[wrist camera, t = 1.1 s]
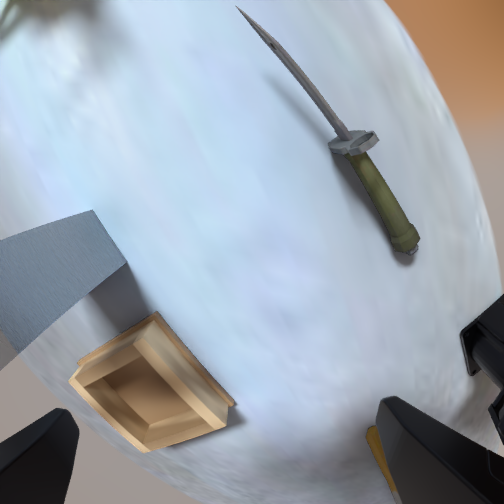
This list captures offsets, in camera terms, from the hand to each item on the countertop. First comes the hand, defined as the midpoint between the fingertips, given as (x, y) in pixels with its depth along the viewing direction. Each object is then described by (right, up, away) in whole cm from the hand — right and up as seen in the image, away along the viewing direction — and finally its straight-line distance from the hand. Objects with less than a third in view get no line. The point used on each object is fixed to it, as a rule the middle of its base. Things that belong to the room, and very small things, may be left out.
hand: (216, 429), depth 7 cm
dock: (-7, -6, +15) cm, 18 cm away
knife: (+6, +12, +11) cm, 17 cm away
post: (-11, +5, +13) cm, 17 cm away
